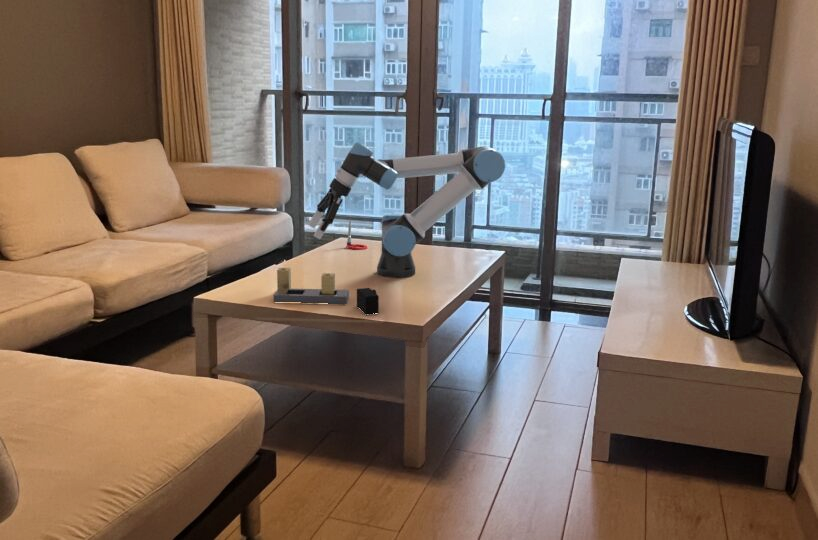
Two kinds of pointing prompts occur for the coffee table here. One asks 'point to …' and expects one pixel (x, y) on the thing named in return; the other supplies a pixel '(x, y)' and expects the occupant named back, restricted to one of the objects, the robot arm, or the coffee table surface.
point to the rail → (310, 296)
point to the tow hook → (349, 245)
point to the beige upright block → (328, 284)
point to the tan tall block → (284, 278)
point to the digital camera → (367, 300)
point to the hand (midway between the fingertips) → (313, 232)
